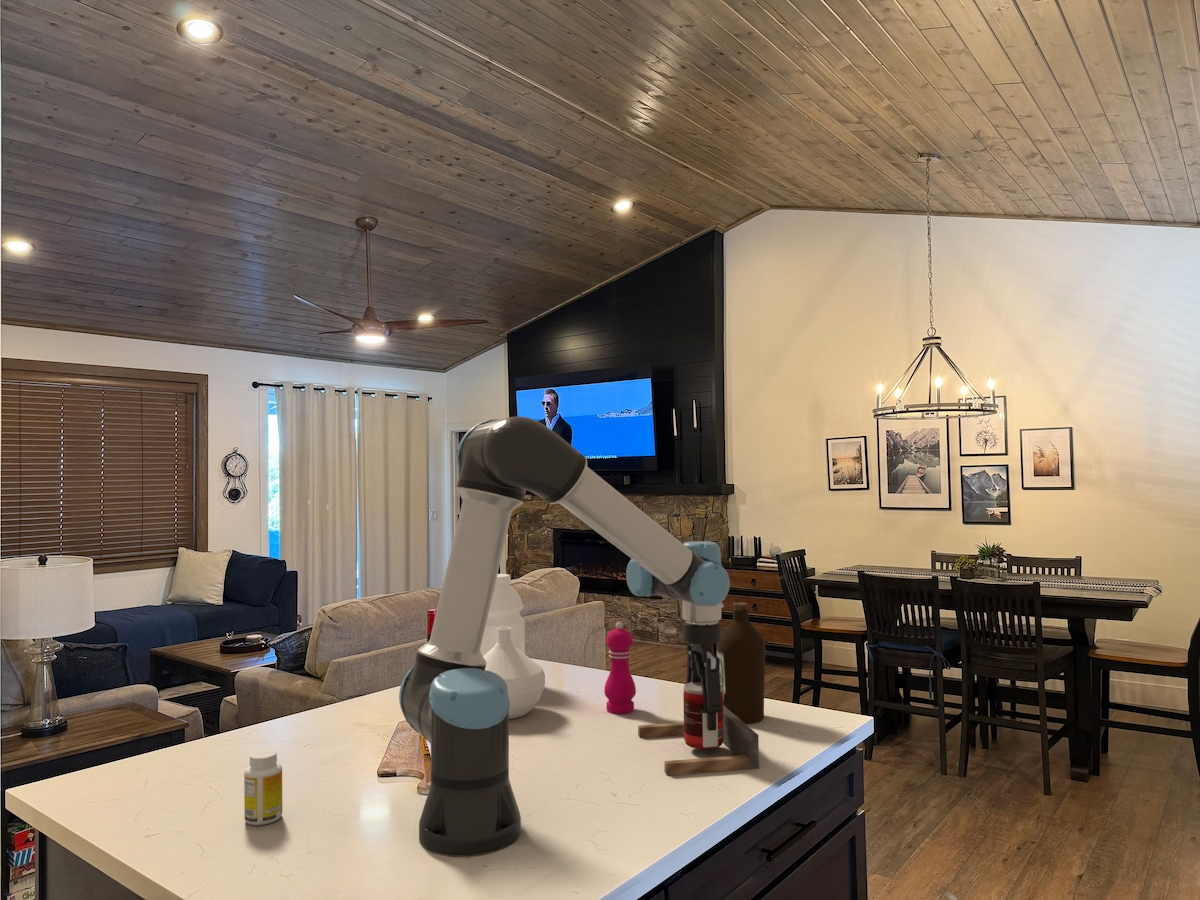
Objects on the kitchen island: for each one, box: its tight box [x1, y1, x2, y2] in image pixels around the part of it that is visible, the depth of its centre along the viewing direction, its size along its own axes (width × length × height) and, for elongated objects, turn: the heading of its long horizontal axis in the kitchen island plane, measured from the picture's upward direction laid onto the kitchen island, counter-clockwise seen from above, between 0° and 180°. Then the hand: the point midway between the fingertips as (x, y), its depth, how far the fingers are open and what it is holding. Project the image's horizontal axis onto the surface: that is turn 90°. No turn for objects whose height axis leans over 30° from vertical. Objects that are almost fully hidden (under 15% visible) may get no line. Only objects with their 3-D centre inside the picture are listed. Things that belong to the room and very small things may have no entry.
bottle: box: [480, 573, 526, 656], centre depth 213 cm, size 14×14×28 cm
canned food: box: [682, 682, 724, 750], centre depth 161 cm, size 8×8×11 cm
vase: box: [483, 627, 546, 720], centre depth 188 cm, size 18×18×19 cm
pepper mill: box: [603, 621, 637, 715], centre depth 189 cm, size 7×7×20 cm
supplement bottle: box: [243, 749, 283, 826], centre depth 131 cm, size 6×6×10 cm
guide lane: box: [637, 705, 760, 776], centre depth 161 cm, size 17×23×6 cm
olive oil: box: [716, 601, 767, 724], centre depth 183 cm, size 11×11×25 cm
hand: (703, 739), depth 161 cm, fingers closed on canned food, 8 cm apart
